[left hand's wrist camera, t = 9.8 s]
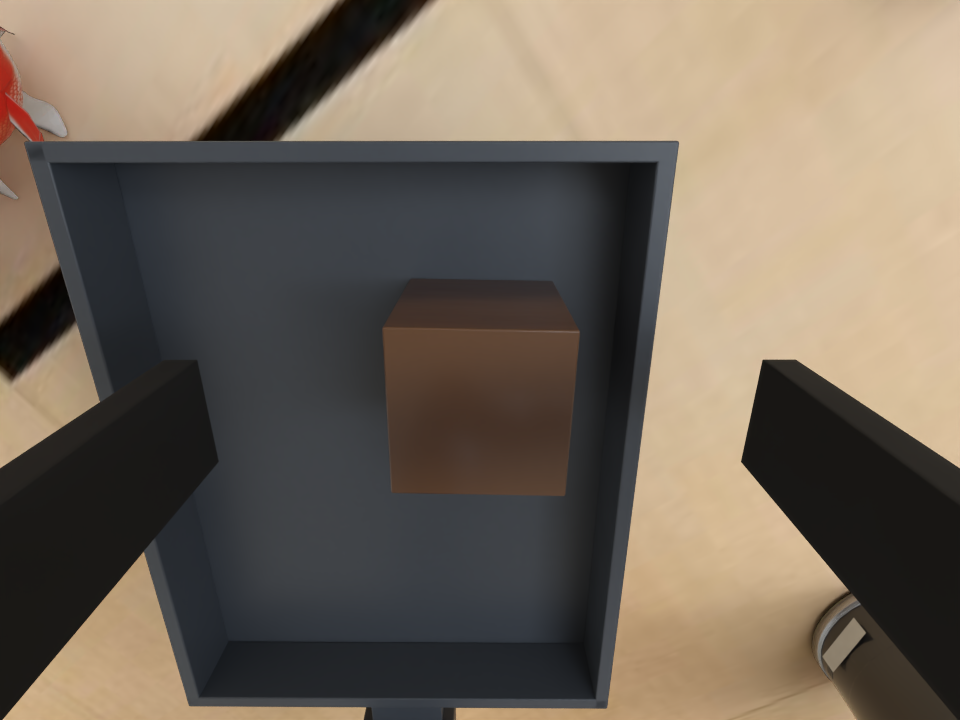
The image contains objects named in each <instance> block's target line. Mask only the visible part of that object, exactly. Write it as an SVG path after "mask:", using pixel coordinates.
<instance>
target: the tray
mask: <svg viewBox="0 0 960 720" xmlns="http://www.w3.org/2000/svg"><path fill="white" fill-rule="evenodd" d="M24 144H25V148H26V151H27V155H28V158H29V161H30V164H31V168H32V171H33V175H34V178H35V181H36V185H37V188H38V192H39V195H40V198H41V202H42V205H43V209H44V212H45V216H46V219H47V222H48V226H49V229H50V233H51V236H52V239H53V243H54V246H55V250H56V253H57V256H58V260H59V263H60V267H61V270H62V274H63V277H64V280H65V284H66V287H67V291H68V294H69V297H70V301H71V304H72V308H73V311H74V314H75V318H76V321H77V325H78V328H79V332H80V335H81V338H82V342H83V345H84V349H85V352H86V355H87V359H88V362H89V366H90V369H91V372H92V376H93V379H94V383H95V386H96V389H97V393H98V396H99V400H100V402H101V401H103V400H104V399H106V398H107V397H109V396H110V395H112V394H113V393H115V392H116V391H118V390H119V389H121V388H122V387H124V386H125V385H127V384H128V383H130V382H131V381H133V380H134V379H136V378H137V377H139V376H141V375H142V374H144V373H145V372H147V371H148V370H150V369H151V368H153V367H154V366H156V365H157V364H159V363H160V362H162V361H163V360H197V361H198V366H199V371H200V375H201V380H202V385H203V389H204V394H205V399H206V404H207V408H208V413H209V418H210V422H211V427H212V432H213V437H214V441H215V446H216V451H217V455H218V460H219V462H218V463H217V465H216V466H215V467H214V468H213V469H212V471H211V472H210V473H209V474H208V475H207V477H206V478H205V479H204V480H203V481H202V482H201V484H200V485H199V486H198V487H197V488H196V490H195V491H194V492H193V493H192V494H191V496H190V497H189V498H188V499H187V500H186V502H185V503H184V504H183V505H182V506H181V508H180V509H179V510H178V511H177V512H176V513H175V515H174V516H173V517H172V518H171V519H170V521H169V522H168V523H167V524H166V525H165V527H164V528H163V529H162V530H161V531H160V533H159V534H158V535H157V536H156V537H155V538H154V540H153V541H152V542H151V543H150V544H149V546H148V547H147V548H146V549H145V550H144V553H145V557H146V560H147V563H148V567H149V570H150V574H151V577H152V580H153V584H154V587H155V591H156V594H157V598H158V601H159V604H160V608H161V611H162V615H163V618H164V621H165V625H166V628H167V632H168V635H169V638H170V642H171V645H172V649H173V652H174V656H175V659H176V662H177V666H178V669H179V673H180V676H181V679H182V683H183V686H184V690H185V693H186V696H187V700H188V704H189V706H246V707H366V711H365V716H364V720H456V708H603V709H606V708H607V705H608V696H609V688H610V680H611V673H612V665H613V657H614V649H615V641H616V633H617V625H618V618H619V610H620V602H621V594H622V586H623V578H624V570H625V563H626V555H627V547H628V539H629V531H630V523H631V515H632V507H633V500H634V492H635V484H636V476H637V468H638V460H639V452H640V445H641V437H642V429H643V421H644V413H645V405H646V397H647V390H648V382H649V374H650V366H651V358H652V350H653V342H654V335H655V327H656V319H657V311H658V303H659V295H660V287H661V279H662V272H663V264H664V256H665V248H666V240H667V232H668V224H669V217H670V209H671V201H672V193H673V185H674V177H675V169H676V162H677V154H678V147H679V142H678V141H26V142H24ZM410 279H466V280H523V281H553V282H554V284H555V286H556V288H557V290H558V292H559V294H560V296H561V297H562V299H563V301H564V303H565V305H566V307H567V309H568V311H569V312H570V314H571V316H572V318H573V320H574V322H575V324H576V325H577V327H578V329H579V331H580V337H579V348H578V359H577V370H576V381H575V392H574V403H573V414H572V425H571V436H570V447H569V458H568V469H567V480H566V492H565V496H534V495H477V494H419V493H392V492H391V483H390V465H389V446H388V428H387V409H386V391H385V372H384V354H383V335H382V328H383V326H384V324H385V323H386V321H387V319H388V317H389V316H390V314H391V312H392V310H393V309H394V307H395V305H396V303H397V302H398V300H399V298H400V296H401V295H402V293H403V291H404V289H405V288H406V286H407V284H408V282H409V281H410Z"/></svg>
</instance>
